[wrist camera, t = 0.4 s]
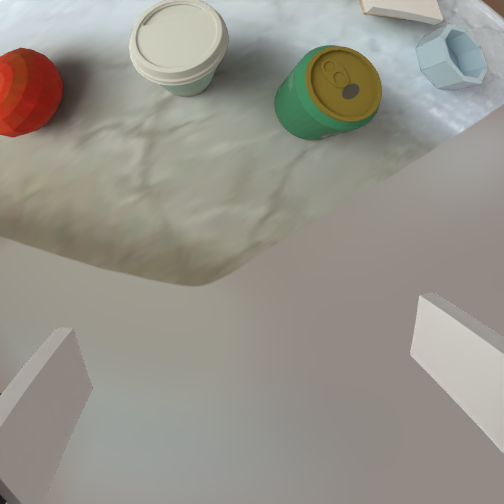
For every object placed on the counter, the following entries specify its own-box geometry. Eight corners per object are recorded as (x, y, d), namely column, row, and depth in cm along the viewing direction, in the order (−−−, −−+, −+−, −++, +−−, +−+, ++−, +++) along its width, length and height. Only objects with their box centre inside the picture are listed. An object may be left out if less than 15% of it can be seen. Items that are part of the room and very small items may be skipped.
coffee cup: (235, 52, 32) (244, 4, 21) (210, 116, 34) (208, 90, 22) (166, 35, 31) (148, -15, 19) (140, 98, 32) (108, 68, 21)
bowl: (411, 33, 33) (434, 20, 27) (452, 41, 33) (476, 31, 28) (424, 87, 35) (450, 79, 29) (465, 91, 36) (491, 86, 30)
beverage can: (304, 154, 36) (343, 147, 24) (258, 102, 34) (278, 72, 22) (351, 114, 35) (403, 96, 24) (308, 64, 33) (345, 25, 22)
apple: (29, 60, 29) (-19, 35, 17) (86, 69, 30) (44, 38, 19) (2, 131, 30) (-53, 125, 19) (57, 147, 32) (4, 142, 21)
